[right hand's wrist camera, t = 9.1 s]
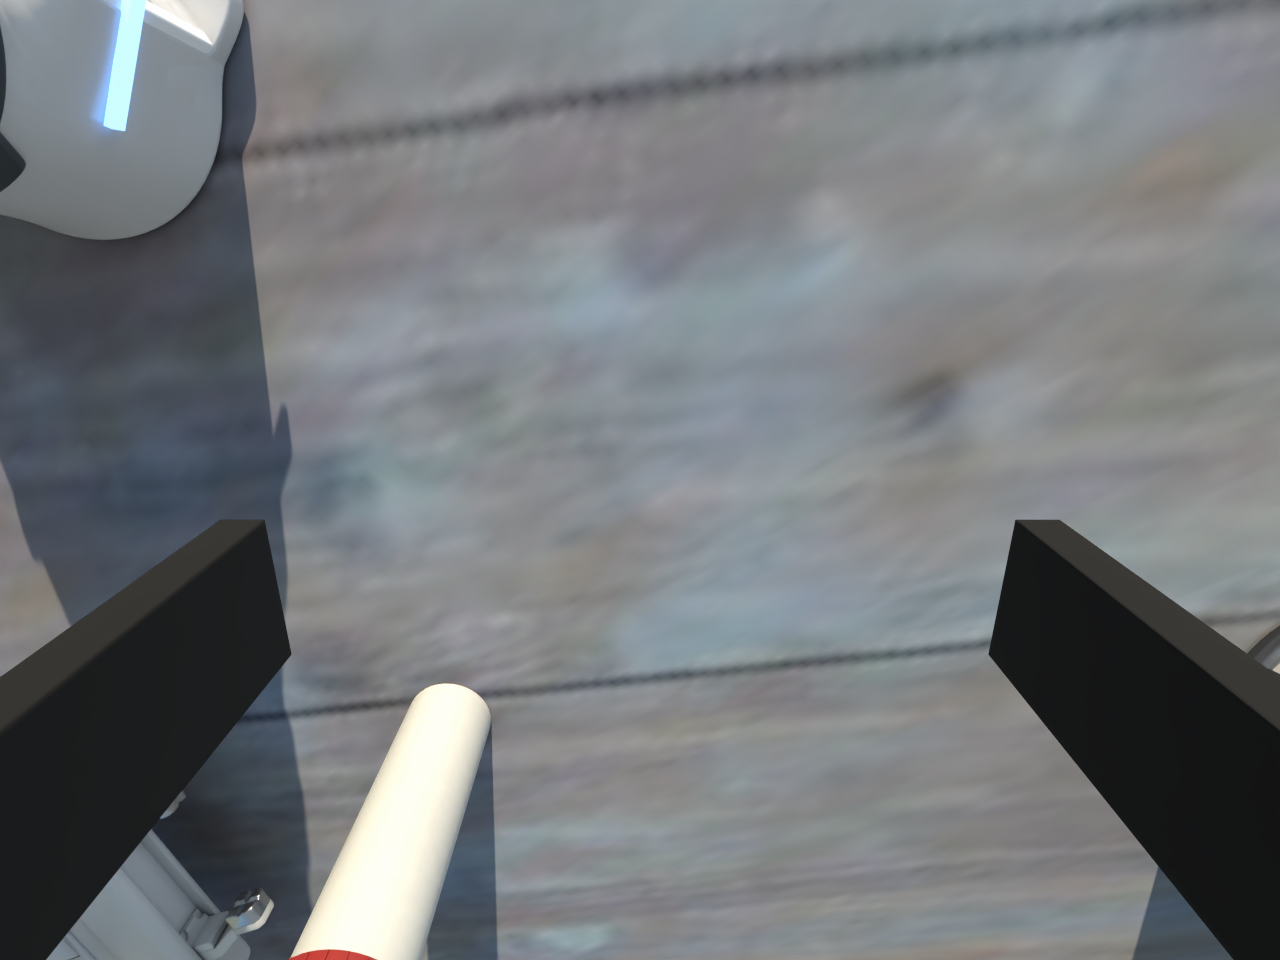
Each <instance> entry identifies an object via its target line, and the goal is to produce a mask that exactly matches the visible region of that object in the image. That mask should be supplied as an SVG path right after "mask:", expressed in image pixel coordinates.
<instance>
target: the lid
mask: <svg viewBox="0 0 1280 960" xmlns="http://www.w3.org/2000/svg"><path fill="white" fill-rule="evenodd" d="M288 960H377V959H374V958H372V957H370V956H367V955H364V954H360V953H357V952H352V951H346V950H336V949H325V950H315V951H309V952H306V953H302V954H299V955H297V956H294V957H291V958H289V959H288Z"/></svg>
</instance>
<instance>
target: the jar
mask: <svg viewBox="0 0 1280 960" xmlns="http://www.w3.org/2000/svg"><path fill="white" fill-rule="evenodd" d="M490 726H491V715H490V711H489V709H488V707H487V705H486V703H485V702H484V700H483V699H482V698H481V697H480V696H479V695H478V694H476V693H475V692H473V691H472V690H470V689H468V688H466V687H463V686H460V685H456V684H438V685H433V686H430V687H428V688H426V689H424V690H423V691H421V692H420V693H419V694H418V695H417V696H416V697H415V698H414V700H413V701H412V703H411V705H410V708H409V710H408V712H407V714H406V716H405V718H404V720H403V722H402V724H401V726H400V729H399V731H398V733H397V735H396V737H395V739H394V741H393V743H392V745H391V747H390V750H389V752H388V754H387V756H386V758H385V760H384V762H383V764H382V766H381V768H380V771H379V773H378V775H377V777H376V779H375V781H374V783H373V785H372V787H371V789H370V792H369V794H368V796H367V798H366V800H365V802H364V804H363V806H362V808H361V810H360V813H359V815H358V817H357V819H356V821H355V823H354V825H353V827H352V829H351V832H350V834H349V836H348V838H347V840H346V842H345V844H344V846H343V848H342V850H341V853H340V855H339V857H338V859H337V861H336V863H335V865H334V867H333V869H332V871H331V874H330V876H329V878H328V880H327V882H326V884H325V886H324V888H323V890H322V892H321V895H320V897H319V899H318V901H317V903H316V905H315V907H314V909H313V911H312V913H311V916H310V918H309V920H308V922H307V924H306V926H305V928H304V930H303V932H302V934H301V937H300V939H299V941H298V943H297V945H296V947H295V949H294V951H293V953H292V956H291V957H294V956H297V955H299V954H302V953H306V952H309V951H315V950H325V949H336V950H346V951H352V952H357V953H360V954H364V955H367V956H370V957H372V958H374V959H377V960H421V958H422V954H423V951H424V948H425V944H426V941H427V938H428V934H429V931H430V927H431V924H432V921H433V917H434V914H435V911H436V907H437V904H438V901H439V897H440V894H441V891H442V887H443V884H444V880H445V877H446V874H447V870H448V867H449V864H450V860H451V857H452V854H453V850H454V847H455V844H456V840H457V837H458V833H459V830H460V827H461V823H462V820H463V817H464V813H465V810H466V807H467V803H468V800H469V797H470V793H471V790H472V786H473V783H474V780H475V776H476V773H477V770H478V766H479V763H480V760H481V756H482V753H483V750H484V746H485V743H486V739H487V736H488V733H489V729H490Z"/></svg>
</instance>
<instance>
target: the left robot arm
mask: <svg viewBox="0 0 1280 960" xmlns="http://www.w3.org/2000/svg"><path fill="white" fill-rule="evenodd" d="M243 15H244V2H243V0H0V215H4V216H9V217H13V218H17V219H21V220H25V221H28V222H31V223H34V224H37V225H39V226H42V227H45V228H47V229H50V230H53V231H56V232H59V233H62V234H66V235H70V236H74V237H79V238H85V239H95V240H113V239H122V238H129V237H133V236H137V235H140V234H144V233H147V232H149V231H151V230H154V229H156V228H158V227H160V226H162V225H164V224H165V223H167V222H168V221H170V220H171V219H173V218H174V217H175V216H177V215H178V214H179V213H180V212H181V211H182V210H183V209H184V208H186V207H187V206H188V204H189V203H190V202H191V201H192V200H193V199H194V197H195V196H196V195H197V193H198V192H199V191H200V189H201V187H202V186H203V184H204V182H205V181H206V178H207V176H208V174H209V172H210V170H211V168H212V165H213V162H214V160H215V156H216V153H217V149H218V144H219V140H220V133H221V125H222V84H223V73H224V66H225V64H226V61H227V59H228V57H229V55H230V53H231V50H232V48H233V46H234V44H235V41H236V39H237V36H238V34H239V31H240V28H241V24H242V21H243ZM186 796H187V794H186V793H185V791H184V790H182V791H181V793H180V794H179V795H178V796H177V798H176V799H175V800H174V801H173V802H172V804H171V805H170V806H169V807H168V809H167V810H166V811H165V812H164V814H163V815H162V816H161V817H160V819H163V818H166V817H168V816H170V815H171V814H172V813H173V812H175V810H176V809H177V808H178V807H179V802H180V801H183V800H184V799H185V798H186ZM273 907H274V902H273V901H272V900H271V899H270V897H269V896H268V895H267V894H266V893H265V892H264V890H263V889H262V888H261V887H258V888H255V890H254V891H251V890H248V891H245V892H242V893H240V894H239V896H238V898H237V899H236V901H235V904H234V908H232V909H230V911H225V912H220V910H219V909H218V908H217V907H216V906H215V904H214V903H213V902H212V901H211V900H210V898H209V897H208V896H207V895H206V894H205V892H204V891H203V890H202V889H201V888H200V887H199V885H198V884H197V883H196V882H195V881H194V879H193V878H192V877H191V876H190V875H189V873H188V872H187V871H186V870H185V869H184V867H183V866H182V865H181V864H180V863H179V861H178V860H177V859H176V858H175V857H174V855H173V854H172V853H171V852H170V851H169V849H168V848H167V847H166V846H165V845H164V843H163V842H162V841H161V840H160V839H159V837H158V836H157V835H156V834H155V833H154V832H153V830H152V829H151V830H150V831H149V832H148V834H147V835H146V836H145V837H144V839H143V840H142V841H141V842H140V844H139V845H138V846H137V847H136V849H135V850H134V851H133V852H132V854H131V855H130V856H129V857H128V859H127V860H126V861H125V862H124V864H123V865H122V866H121V867H120V868H119V870H118V871H117V872H116V873H115V875H114V876H113V877H112V878H111V880H110V881H109V882H108V883H107V885H106V886H105V887H104V888H103V890H102V891H101V892H100V893H99V895H98V896H97V897H96V898H95V900H94V901H93V902H92V903H91V905H90V906H89V907H88V908H87V910H86V911H85V912H84V913H83V915H82V916H81V917H80V918H79V920H78V921H77V922H76V923H75V925H74V926H73V927H72V928H71V930H70V931H69V932H68V933H67V935H66V936H65V937H64V938H63V939H62V941H61V942H60V943H59V944H58V946H57V947H56V948H55V949H54V951H53V952H52V953H51V954H50V956H49V957H48V958H47V959H46V960H248V959H249V956H250V952H251V950H250V947H249V945H248V944H247V942H246V941H245V940H244V939H243V938H242V937H241V935H240V934H243V933H247V932H250V931H253V930H256V929H259V928H260V927H261V926H262V925H264V923H265V922H266V921H267V919H268V917H269V915H270V913H271V911H272V909H273Z"/></svg>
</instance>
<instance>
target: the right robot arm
mask: <svg viewBox="0 0 1280 960" xmlns="http://www.w3.org/2000/svg"><path fill="white" fill-rule="evenodd" d="M290 656H291V650H290V645H289V640H288V635H287V630H286V625H285V620H284V615H283V610H282V605H281V600H280V595H279V590H278V585H277V580H276V575H275V570H274V565H273V560H272V555H271V550H270V545H269V540H268V535H267V530H266V525H265V520H220V521H218V522H217V523H215V524H214V525H213V526H211V527H210V528H208V529H207V530H206V531H204V532H203V533H201V534H200V535H199V536H197V537H196V538H194V539H193V540H192V541H190V542H189V543H187V544H186V545H185V546H183V547H182V548H180V549H179V550H178V551H176V552H175V553H173V554H172V555H171V556H169V557H168V558H166V559H165V560H164V561H162V562H161V563H159V564H158V565H157V566H155V567H154V568H152V569H151V570H150V571H148V572H147V573H145V574H144V575H143V576H141V577H140V578H138V579H137V580H136V581H134V582H133V583H131V584H130V585H129V586H127V587H126V588H124V589H123V590H122V591H120V592H119V593H117V594H116V595H115V596H113V597H112V598H110V599H109V600H108V601H106V602H105V603H103V604H102V605H101V606H99V607H98V608H96V609H95V610H94V611H92V612H91V613H89V614H88V615H87V616H85V617H84V618H82V619H81V620H80V621H78V622H77V623H75V624H74V625H73V626H71V627H70V628H68V629H67V630H66V631H64V632H63V633H61V634H60V635H59V636H57V637H56V638H54V639H53V640H52V641H50V642H49V643H47V644H46V645H45V646H43V647H42V648H40V649H39V650H38V651H36V652H35V653H33V654H32V655H31V656H29V657H28V658H26V659H25V660H24V661H22V662H21V663H19V664H18V665H17V666H15V667H14V668H12V669H11V670H10V671H8V672H7V673H5V674H4V675H3V676H1V677H0V960H46V959H47V958H48V957H49V956H50V954H51V953H52V952H53V951H54V949H55V948H56V947H57V946H58V944H59V943H60V942H61V941H62V939H63V938H64V937H65V936H66V935H67V933H68V932H69V931H70V930H71V928H72V927H73V926H74V925H75V923H76V922H77V921H78V920H79V918H80V917H81V916H82V915H83V913H84V912H85V911H86V910H87V908H88V907H89V906H90V905H91V903H92V902H93V901H94V900H95V898H96V897H97V896H98V895H99V893H100V892H101V891H102V890H103V888H104V887H105V886H106V885H107V883H108V882H109V881H110V880H111V878H112V877H113V876H114V875H115V873H116V872H117V871H118V870H119V868H120V867H121V866H122V865H123V864H124V862H125V861H126V860H127V859H128V857H129V856H130V855H131V854H132V852H133V851H134V850H135V849H136V847H137V846H138V845H139V844H140V842H141V841H142V840H143V839H144V837H145V836H146V835H147V834H148V832H149V831H150V830H151V829H152V827H153V826H154V825H155V824H156V822H157V821H158V820H159V819H160V817H161V816H162V815H163V814H164V812H165V811H166V810H167V809H168V807H169V806H170V805H171V804H172V802H173V801H174V800H175V799H176V798H177V796H178V795H179V794H180V793H181V791H182V790H183V789H184V788H185V786H186V785H187V784H188V783H189V781H190V780H191V779H192V778H193V776H194V775H195V774H196V773H197V771H198V770H199V769H200V768H201V766H202V765H203V764H204V763H205V761H206V760H207V759H208V758H209V756H210V755H211V754H212V753H213V751H214V750H215V749H216V748H217V746H218V745H219V744H220V743H221V741H222V740H223V739H224V738H225V736H226V735H227V734H228V733H229V732H230V730H231V729H232V728H233V727H234V725H235V724H236V723H237V722H238V720H239V719H240V718H241V717H242V715H243V714H244V713H245V712H246V710H247V709H248V708H249V707H250V705H251V704H252V703H253V702H254V700H255V699H256V698H257V697H258V695H259V694H260V693H261V692H262V690H263V689H264V688H265V687H266V685H267V684H268V683H269V682H270V680H271V679H272V678H273V677H274V675H275V674H276V673H277V672H278V670H279V669H280V668H281V667H282V665H283V664H284V663H285V662H286V661H287V659H288V658H289V657H290ZM989 656H990V657H991V658H992V659H993V661H994V662H995V663H996V664H997V665H998V667H999V668H1000V669H1001V670H1002V672H1003V673H1004V674H1005V675H1006V677H1007V678H1008V679H1009V680H1010V682H1011V683H1012V684H1013V685H1014V687H1015V688H1016V689H1017V690H1018V692H1019V693H1020V694H1021V695H1022V697H1023V698H1024V699H1025V700H1026V702H1027V703H1028V704H1029V705H1030V707H1031V708H1032V709H1033V710H1034V712H1035V713H1036V714H1037V715H1038V717H1039V718H1040V719H1041V720H1042V722H1043V723H1044V724H1045V725H1046V727H1047V728H1048V729H1049V730H1050V732H1051V733H1052V734H1053V735H1054V736H1055V738H1056V739H1057V740H1058V741H1059V743H1060V744H1061V745H1062V746H1063V748H1064V749H1065V750H1066V751H1067V753H1068V754H1069V755H1070V756H1071V758H1072V759H1073V760H1074V761H1075V763H1076V764H1077V765H1078V766H1079V768H1080V769H1081V770H1082V771H1083V773H1084V774H1085V775H1086V776H1087V778H1088V779H1089V780H1090V781H1091V783H1092V784H1093V785H1094V786H1095V788H1096V789H1097V790H1098V791H1099V793H1100V794H1101V795H1102V796H1103V798H1104V799H1105V800H1106V801H1107V802H1108V804H1109V805H1110V806H1111V807H1112V809H1113V810H1114V811H1115V812H1116V814H1117V815H1118V816H1119V817H1120V819H1121V820H1122V821H1123V822H1124V824H1125V825H1126V826H1127V827H1128V829H1129V830H1130V831H1131V832H1132V834H1133V835H1134V836H1135V837H1136V839H1137V840H1138V841H1139V842H1140V844H1141V845H1142V846H1143V847H1144V849H1145V850H1146V851H1147V852H1148V854H1149V855H1150V856H1151V857H1152V859H1153V860H1154V861H1155V862H1156V864H1157V865H1158V866H1159V867H1160V869H1161V870H1162V871H1163V872H1164V873H1165V875H1166V876H1167V877H1168V878H1169V880H1170V881H1171V882H1172V883H1173V885H1174V886H1175V887H1176V888H1177V890H1178V891H1179V892H1180V893H1181V895H1182V896H1183V897H1184V898H1185V900H1186V901H1187V902H1188V903H1189V905H1190V906H1191V907H1192V908H1193V910H1194V911H1195V912H1196V913H1197V915H1198V916H1199V917H1200V918H1201V920H1202V921H1203V922H1204V923H1205V925H1206V926H1207V927H1208V928H1209V930H1210V931H1211V932H1212V933H1213V935H1214V936H1215V937H1216V938H1217V939H1218V941H1219V942H1220V943H1221V944H1222V946H1223V947H1224V948H1225V949H1226V951H1227V952H1228V953H1229V954H1230V956H1231V957H1232V958H1233V959H1234V960H1280V626H1279V627H1277V628H1276V629H1274V630H1273V631H1272V632H1270V633H1269V634H1268V635H1267V636H1266V637H1264V638H1263V639H1262V640H1261V641H1260V642H1259V643H1258V644H1257V645H1255V646H1254V647H1253V648H1252V649H1251V650H1250V652H1249V653H1248V654H1247V653H1245V652H1244V651H1242V650H1241V649H1240V648H1238V647H1237V646H1235V645H1234V644H1233V643H1231V642H1230V641H1228V640H1227V639H1226V638H1224V637H1223V636H1221V635H1220V634H1219V633H1217V632H1216V631H1214V630H1213V629H1212V628H1210V627H1209V626H1207V625H1206V624H1205V623H1203V622H1202V621H1200V620H1199V619H1198V618H1196V617H1195V616H1193V615H1192V614H1191V613H1189V612H1188V611H1186V610H1185V609H1184V608H1182V607H1181V606H1179V605H1178V604H1177V603H1175V602H1174V601H1172V600H1171V599H1170V598H1168V597H1167V596H1165V595H1164V594H1163V593H1161V592H1160V591H1158V590H1157V589H1156V588H1154V587H1153V586H1151V585H1150V584H1149V583H1147V582H1146V581H1144V580H1143V579H1142V578H1140V577H1139V576H1137V575H1136V574H1135V573H1133V572H1132V571H1130V570H1129V569H1128V568H1126V567H1125V566H1123V565H1122V564H1121V563H1119V562H1118V561H1116V560H1115V559H1114V558H1112V557H1111V556H1109V555H1108V554H1107V553H1105V552H1104V551H1102V550H1101V549H1100V548H1098V547H1097V546H1095V545H1094V544H1093V543H1091V542H1090V541H1088V540H1087V539H1086V538H1084V537H1083V536H1081V535H1080V534H1079V533H1077V532H1076V531H1074V530H1073V529H1072V528H1070V527H1069V526H1067V525H1066V524H1065V523H1063V522H1062V521H1060V520H1015V525H1014V530H1013V535H1012V540H1011V545H1010V550H1009V555H1008V560H1007V565H1006V570H1005V575H1004V580H1003V585H1002V590H1001V595H1000V600H999V605H998V610H997V615H996V620H995V625H994V630H993V635H992V640H991V645H990V650H989Z"/></svg>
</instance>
